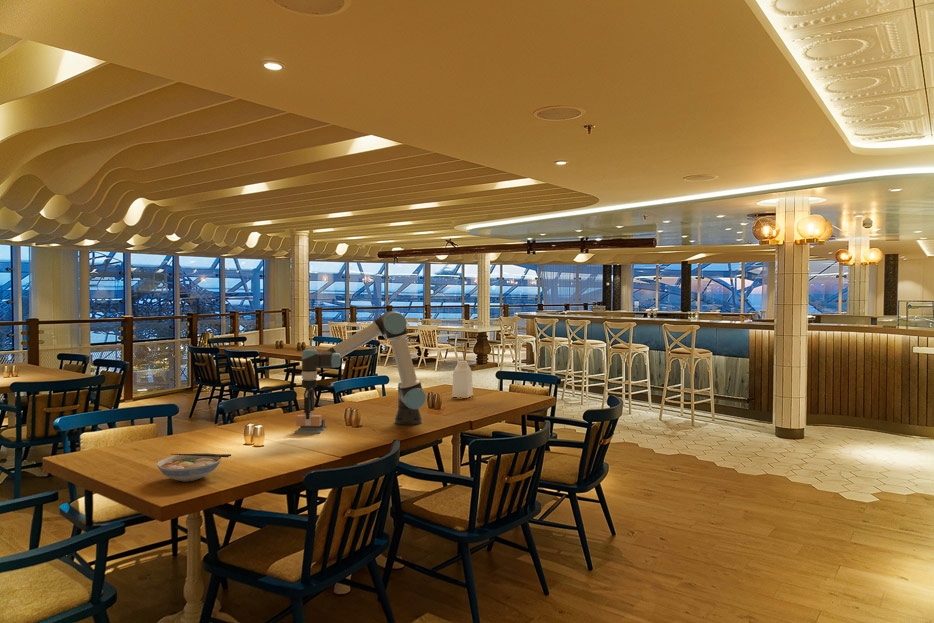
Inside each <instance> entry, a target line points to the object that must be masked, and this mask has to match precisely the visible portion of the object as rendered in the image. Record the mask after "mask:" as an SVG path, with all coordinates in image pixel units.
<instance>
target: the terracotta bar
mask: <svg viewBox="0 0 934 623" xmlns="http://www.w3.org/2000/svg"><path fill="white" fill-rule="evenodd" d="M321 419H322V414H313V415H311V425H305V414H297V415H296V418H295V425H296V427H300V426H320V425H321Z"/></svg>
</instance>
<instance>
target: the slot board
mask: <svg viewBox="0 0 934 623" xmlns="http://www.w3.org/2000/svg"><path fill="white" fill-rule="evenodd" d="M327 428H328V426H327V424H325V428H300V427H298V429H297V430H295V431H294V435H296V434H297V435H300V434H301V435H311V434H312V435H317V434H318V435H320V434H322V432H324V430H326V429H327Z"/></svg>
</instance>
